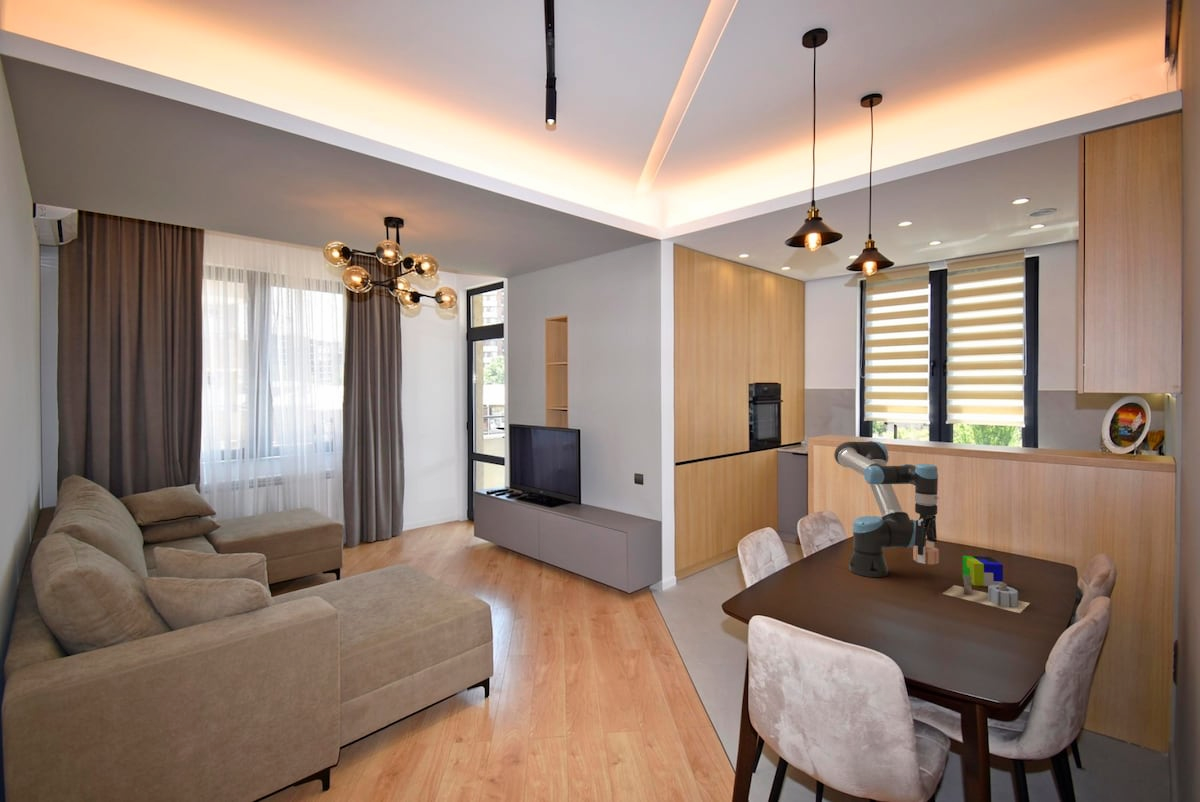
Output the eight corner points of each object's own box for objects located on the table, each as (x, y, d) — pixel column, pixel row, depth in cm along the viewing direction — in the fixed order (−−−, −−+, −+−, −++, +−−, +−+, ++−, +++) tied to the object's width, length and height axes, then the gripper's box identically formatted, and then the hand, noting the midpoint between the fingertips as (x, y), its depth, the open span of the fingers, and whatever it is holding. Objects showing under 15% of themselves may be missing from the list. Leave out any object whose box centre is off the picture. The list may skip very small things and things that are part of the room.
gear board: (942, 596, 205) (942, 575, 205) (954, 588, 213) (954, 567, 213) (1019, 616, 186) (1019, 593, 186) (1029, 606, 195) (1029, 584, 194)
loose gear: (910, 560, 214) (910, 548, 214) (918, 555, 219) (918, 543, 219) (933, 565, 208) (933, 553, 207) (941, 560, 213) (941, 548, 213)
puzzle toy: (1002, 590, 211) (1002, 564, 210) (974, 588, 213) (974, 563, 212) (989, 581, 220) (989, 556, 220) (962, 579, 222) (962, 555, 222)
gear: (990, 604, 194) (990, 591, 194) (986, 596, 201) (986, 583, 201) (1019, 608, 190) (1019, 594, 190) (1014, 600, 197) (1014, 587, 197)
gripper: (926, 509, 203) (925, 568, 204) (946, 500, 216) (946, 556, 217) (904, 506, 209) (904, 563, 210) (926, 497, 222) (925, 551, 223)
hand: (925, 559), depth 213 cm, fingers closed on loose gear, 8 cm apart
